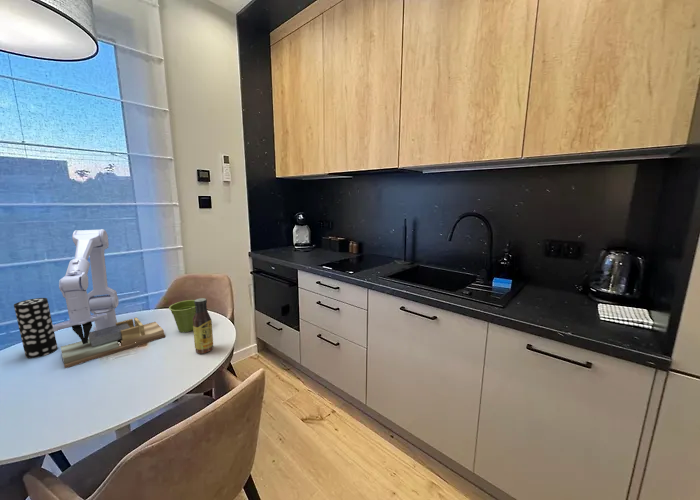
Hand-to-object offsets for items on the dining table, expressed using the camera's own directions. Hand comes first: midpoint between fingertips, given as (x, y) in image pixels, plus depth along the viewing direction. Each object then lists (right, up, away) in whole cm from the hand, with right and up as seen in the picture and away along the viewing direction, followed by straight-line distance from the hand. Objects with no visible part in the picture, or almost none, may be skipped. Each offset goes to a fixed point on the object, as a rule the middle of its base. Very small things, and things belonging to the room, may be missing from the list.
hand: (85, 342), depth 107 cm
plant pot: (+27, -1, +20) cm, 33 cm away
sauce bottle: (+43, -4, +3) cm, 43 cm away
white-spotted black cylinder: (-18, -4, +2) cm, 19 cm away
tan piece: (+6, -3, +7) cm, 10 cm away
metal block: (+5, 0, +5) cm, 7 cm away
